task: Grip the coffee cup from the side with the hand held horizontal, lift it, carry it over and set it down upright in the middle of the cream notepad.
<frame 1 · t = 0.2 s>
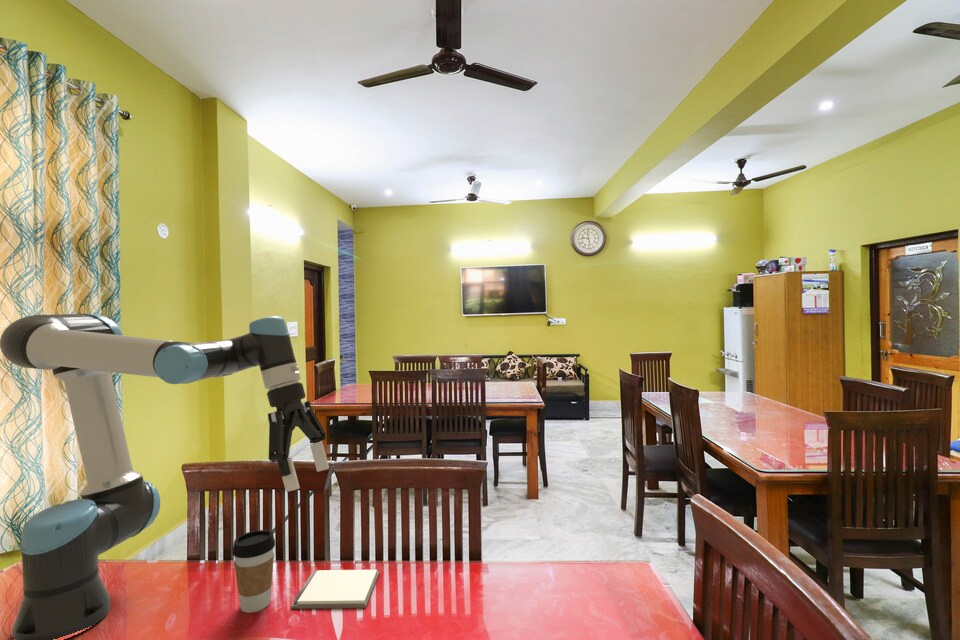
hand: (309, 479, 104), 27 cm above the table, tool tilted 15°, fingers open, 13 cm apart
notepad: (337, 590, 107), on the table
coffee cup: (255, 605, 103), on the table
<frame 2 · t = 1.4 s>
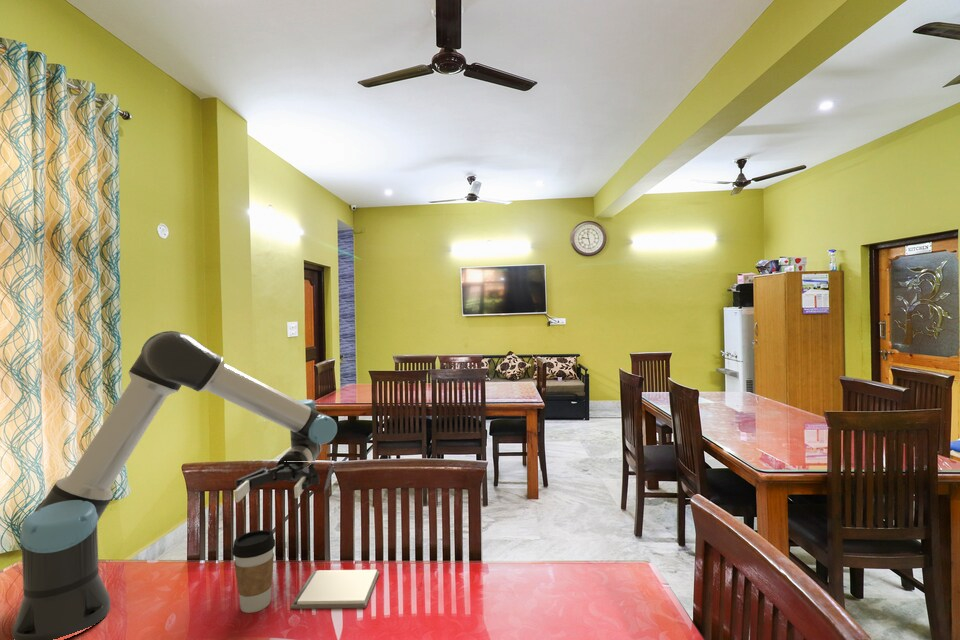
hand: (266, 494, 111), 21 cm above the table, tool horizontal, fingers open, 13 cm apart
nothing on the table moved.
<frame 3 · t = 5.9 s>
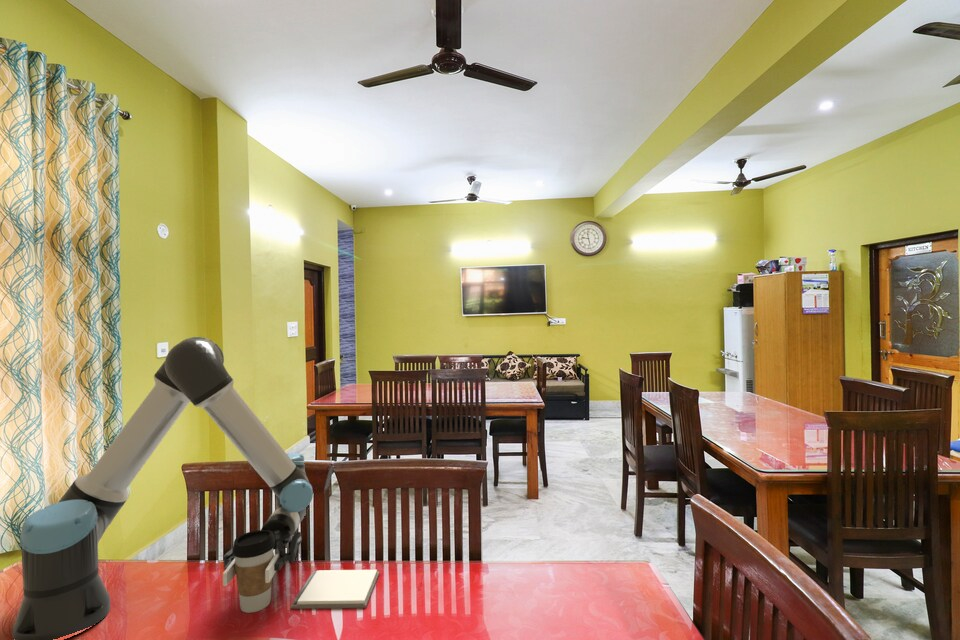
hand: (246, 578, 98), 9 cm above the table, tool horizontal, fingers closed on coffee cup, 8 cm apart
coffee cup: (255, 605, 103), on the table, touching gripper
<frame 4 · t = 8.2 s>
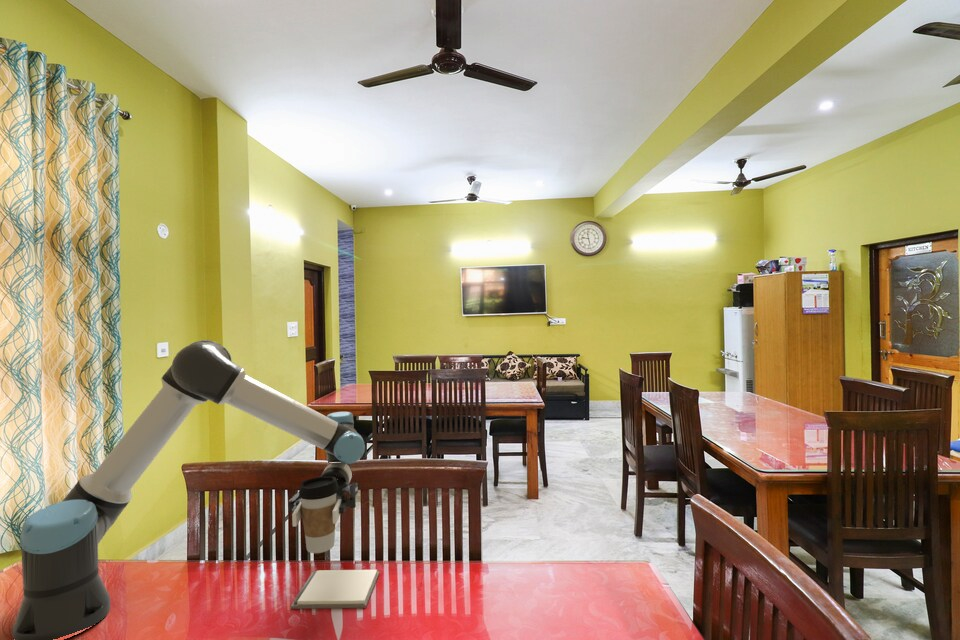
hand: (314, 518, 102), 19 cm above the table, tool horizontal, fingers closed on coffee cup, 8 cm apart
coffee cup: (320, 547, 107), point 10 cm above the table, touching gripper
when the fingers open (11 cm above the table, at t = 10.5 s): coffee cup drops 1 cm, resting on notepad.
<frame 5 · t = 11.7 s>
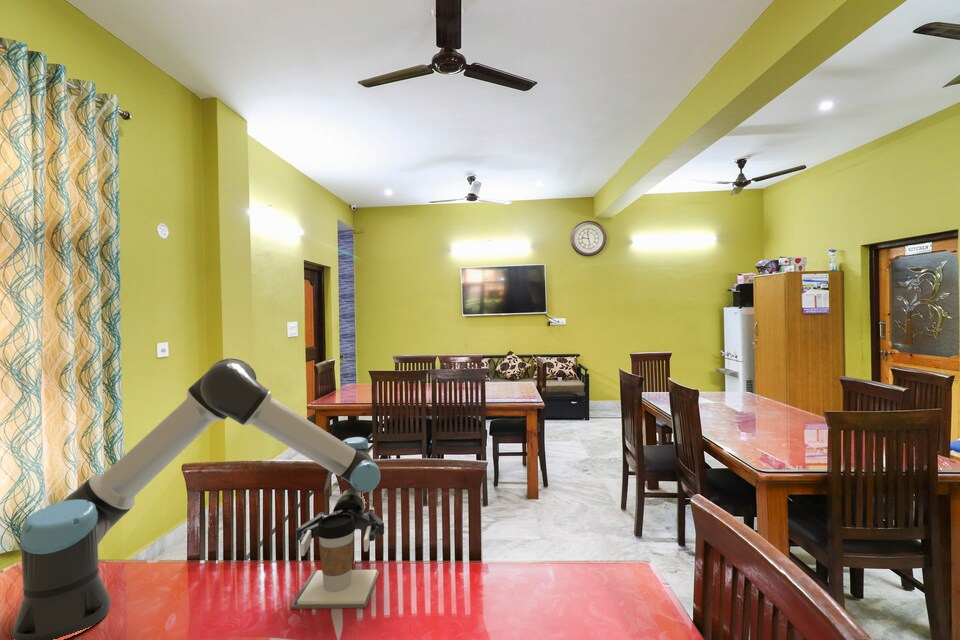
hand: (334, 547, 104), 11 cm above the table, tool horizontal, fingers open, 13 cm apart
coffee cup: (337, 585, 107), point 1 cm above the table, touching notepad
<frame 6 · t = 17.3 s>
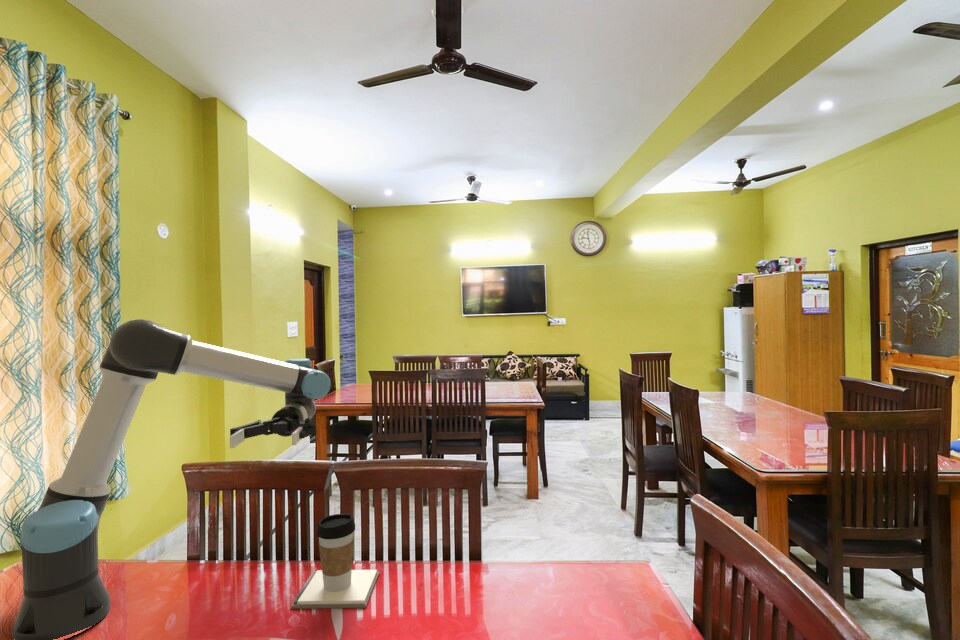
hand: (262, 440, 108), 34 cm above the table, tool horizontal, fingers open, 13 cm apart
nothing on the table moved.
at the end: coffee cup inside the target area on the notepad (0.1 cm from its centre), point 1.1 cm above the notepad's base; coffee cup tilted 0°; the gripper is holding nothing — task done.
